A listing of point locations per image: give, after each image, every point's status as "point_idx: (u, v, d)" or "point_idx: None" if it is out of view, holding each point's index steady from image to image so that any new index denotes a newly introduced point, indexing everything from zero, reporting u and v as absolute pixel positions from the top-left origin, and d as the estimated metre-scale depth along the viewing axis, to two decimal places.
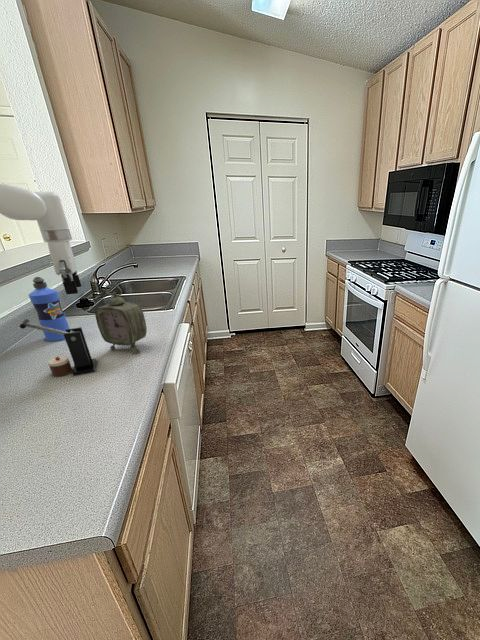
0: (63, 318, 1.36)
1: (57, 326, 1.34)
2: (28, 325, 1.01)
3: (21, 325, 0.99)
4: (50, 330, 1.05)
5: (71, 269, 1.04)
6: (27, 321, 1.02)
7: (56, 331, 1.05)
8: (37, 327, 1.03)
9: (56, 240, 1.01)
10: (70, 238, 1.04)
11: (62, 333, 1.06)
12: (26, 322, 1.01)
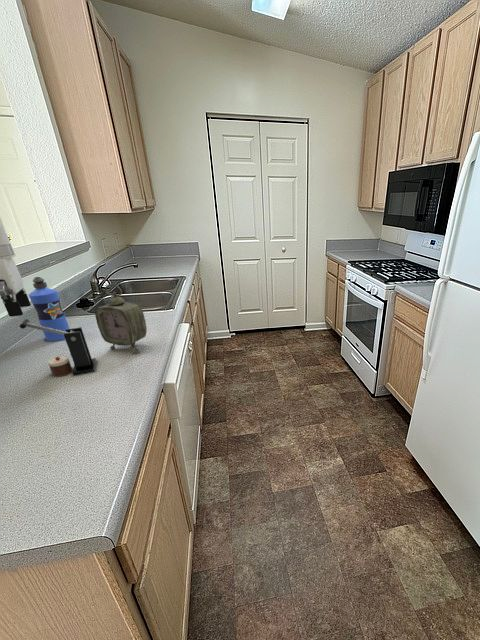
0: (63, 318, 1.36)
1: (57, 326, 1.34)
2: (28, 325, 1.01)
3: (21, 325, 0.99)
4: (50, 330, 1.05)
5: (13, 289, 0.93)
6: (27, 321, 1.02)
7: (56, 331, 1.05)
8: (37, 327, 1.03)
9: None
10: (12, 254, 0.93)
11: (62, 333, 1.06)
12: (26, 322, 1.01)
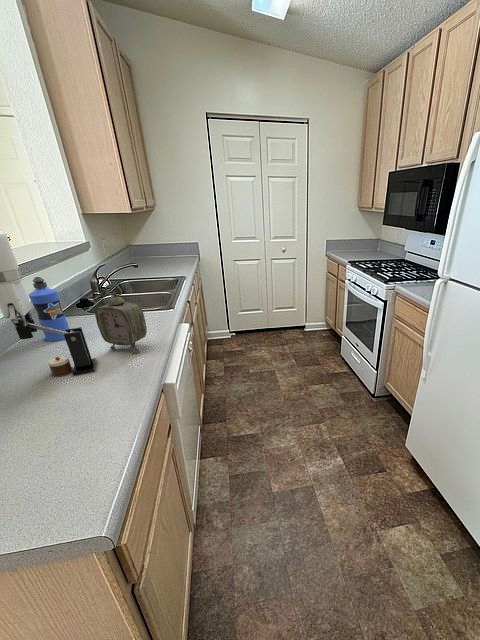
0: (63, 318, 1.36)
1: (57, 326, 1.34)
2: None
3: None
4: (50, 330, 1.05)
5: (21, 312, 0.96)
6: (27, 321, 1.02)
7: (56, 331, 1.05)
8: (37, 327, 1.03)
9: (3, 282, 0.92)
10: (20, 278, 0.96)
11: (62, 333, 1.06)
12: (26, 322, 1.01)
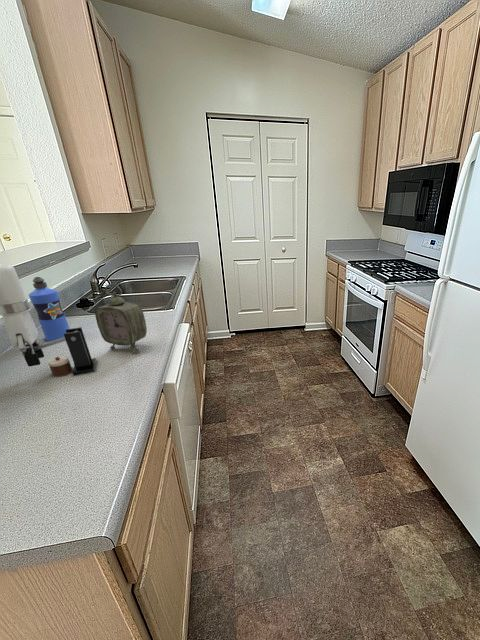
0: (63, 318, 1.36)
1: (57, 326, 1.34)
2: None
3: None
4: (52, 343, 1.06)
5: (29, 341, 1.00)
6: None
7: (57, 341, 1.07)
8: (41, 347, 1.05)
9: (12, 313, 0.96)
10: (28, 309, 0.99)
11: (63, 339, 1.07)
12: None
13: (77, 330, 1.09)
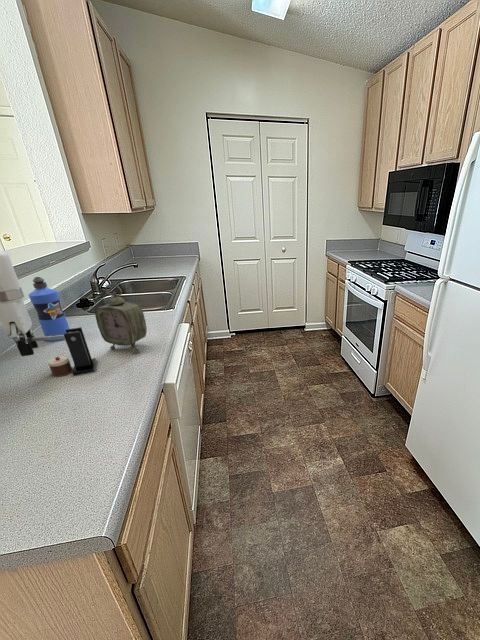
0: (63, 318, 1.36)
1: (57, 326, 1.34)
2: (28, 340, 1.03)
3: None
4: (50, 338, 1.05)
5: (23, 330, 0.98)
6: None
7: (56, 337, 1.06)
8: (37, 339, 1.04)
9: (5, 301, 0.94)
10: (22, 297, 0.98)
11: (62, 337, 1.07)
12: None
13: None
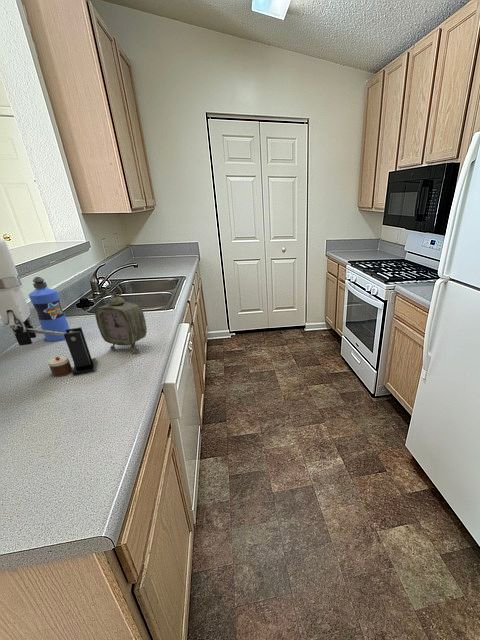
0: (63, 318, 1.36)
1: (57, 326, 1.34)
2: (27, 330, 1.02)
3: None
4: (49, 333, 1.05)
5: (20, 318, 0.97)
6: (26, 326, 1.03)
7: (56, 333, 1.06)
8: (36, 331, 1.03)
9: (2, 289, 0.93)
10: (19, 285, 0.96)
11: (62, 334, 1.06)
12: (25, 328, 1.02)
13: None
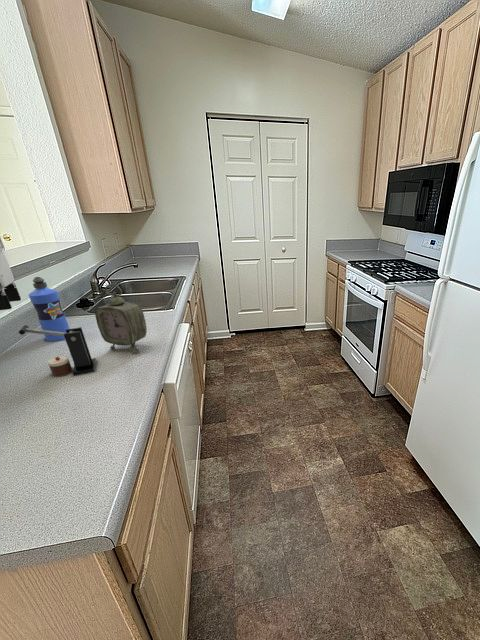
0: (63, 318, 1.36)
1: (57, 326, 1.34)
2: (27, 330, 1.02)
3: (20, 331, 1.00)
4: (49, 333, 1.05)
5: (2, 282, 0.92)
6: (26, 327, 1.03)
7: (56, 333, 1.06)
8: (36, 331, 1.03)
9: None
10: (1, 247, 0.92)
11: (62, 334, 1.06)
12: (25, 328, 1.02)
13: None
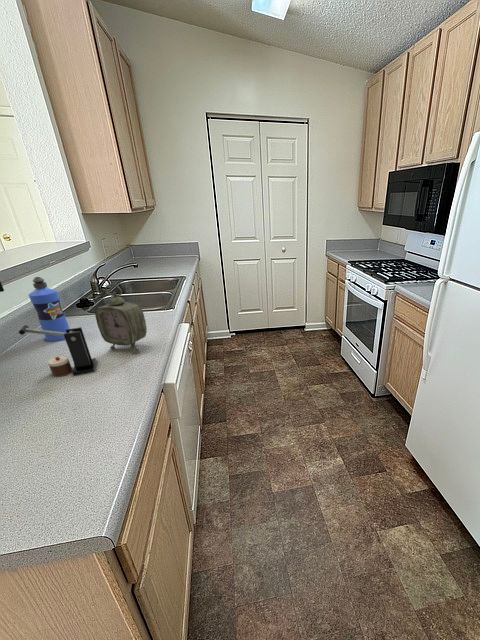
0: (63, 318, 1.36)
1: (57, 326, 1.34)
2: (27, 330, 1.02)
3: (20, 331, 1.00)
4: (49, 333, 1.05)
5: None
6: (26, 327, 1.03)
7: (56, 333, 1.06)
8: (36, 331, 1.03)
9: None
10: None
11: (62, 334, 1.06)
12: (25, 328, 1.02)
13: None
